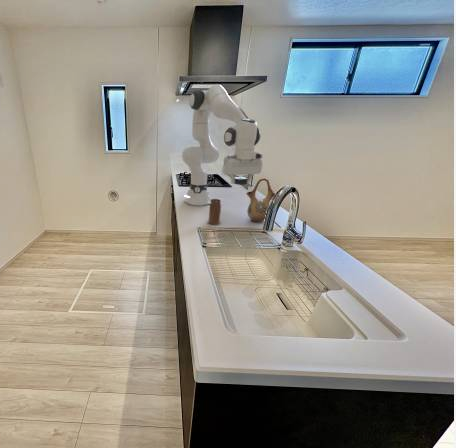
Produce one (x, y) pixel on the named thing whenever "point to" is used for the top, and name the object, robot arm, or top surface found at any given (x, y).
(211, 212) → the coffee jar
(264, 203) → the ceramic vessel
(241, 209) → the top surface
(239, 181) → the jar lid
